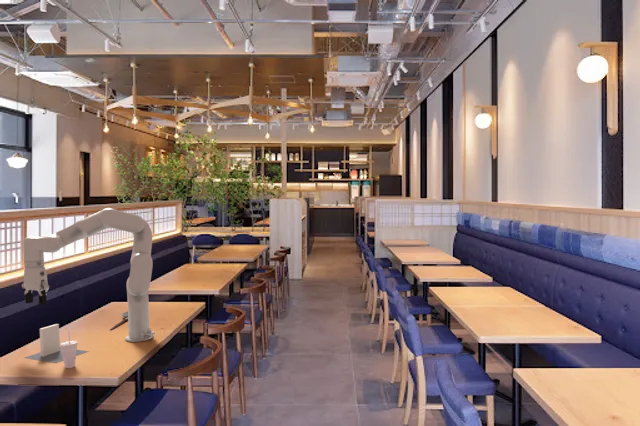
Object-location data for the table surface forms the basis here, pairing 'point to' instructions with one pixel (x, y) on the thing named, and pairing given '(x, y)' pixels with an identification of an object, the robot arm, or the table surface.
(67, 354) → the smoothie
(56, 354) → the mat
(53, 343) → the tile
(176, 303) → the table surface
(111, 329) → the spoon
